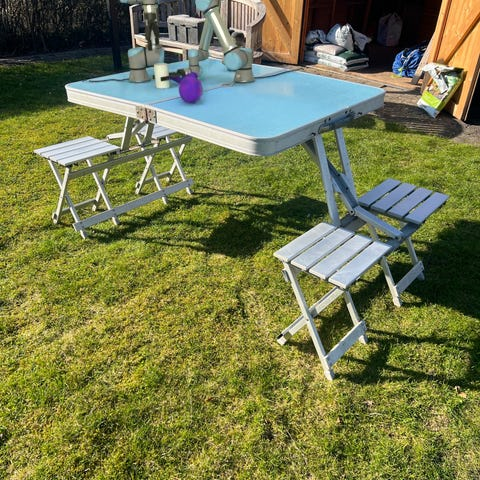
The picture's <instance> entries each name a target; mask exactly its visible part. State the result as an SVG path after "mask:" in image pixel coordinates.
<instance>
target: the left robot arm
mask: <svg viewBox="0 0 480 480" xmlns="http://www.w3.org/2000/svg"><path fill="white" fill-rule="evenodd" d="M119 1H120V3H122V4H130V5H135V6H141V8H142V9H143V12H144V14H143V16H144V20H145V22H144V26H145V28H144V39H145V40H146V43H147V44H148V48H146V47H145V48H144V47H143V46H138V47H132V48H130V49H128V50H127V56H128V57H127V58H128V64H129V65H128V66H129V76H128V78H127V77H126V78H122V79H117V78H108V79H99V80H90V79H86V78H85V79H83V80H82V81H81V83H84V82H90V83H101V82H102V83H103V82H110V81H115V82H123V81H128V82H129V83H133V84H141V83H148V82H150V76H149V74H148V71H147V67H152V66H153V67H154V64H158V63H165V48H164V47H162V48H155V49H152V44H161V42H160V39H161V34H160V29H159V24H158V14H157V9H158V8H159V5H160V0H119ZM87 80H89V81H87ZM83 81H84V82H83Z"/></svg>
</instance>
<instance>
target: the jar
mask: <svg viewBox="0 0 480 480" xmlns="http://www.w3.org/2000/svg"><path fill="white" fill-rule="evenodd" d="M153 71H154V72H153V73H154V75H155V79H154V81H155V83H154V84H155V88H156V89H168V88H170V87H171V82H170V81H171V80H170V79H169V80H167V81H161V78H160V77H165V76H169V72H170V70H169V64H168V63H166V62H164V63H158V64H154V66H153Z"/></svg>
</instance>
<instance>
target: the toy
mask: <svg viewBox="0 0 480 480" xmlns="http://www.w3.org/2000/svg"><path fill="white" fill-rule="evenodd" d="M168 78H169V80H170V79H171V80H170V81H173V82H174V83H177V84H178V93H179V96H180V98H181V100H182V101H184V102H185V103H189V104H195V103H197V102H198V101H199V100H200V99H201V98H202V96H203V94H204V88H203V84H202V81H201V80H200V79H199V77H198V76H197V74H196V73H195V72H191V73H188V74H186V77H184V78H183V77H168Z"/></svg>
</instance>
